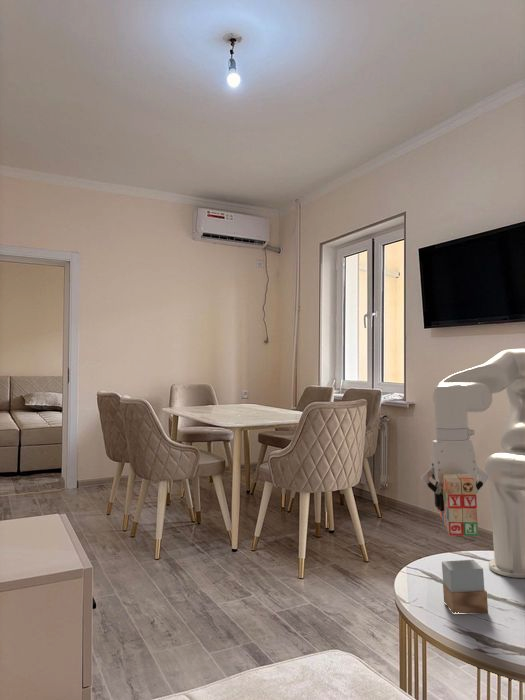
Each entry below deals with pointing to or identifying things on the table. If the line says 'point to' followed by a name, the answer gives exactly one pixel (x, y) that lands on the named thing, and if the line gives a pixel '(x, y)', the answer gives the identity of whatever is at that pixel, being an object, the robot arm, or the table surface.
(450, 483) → the stack of blocks
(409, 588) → the table surface
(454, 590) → the tower top
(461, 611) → the tower bottom
